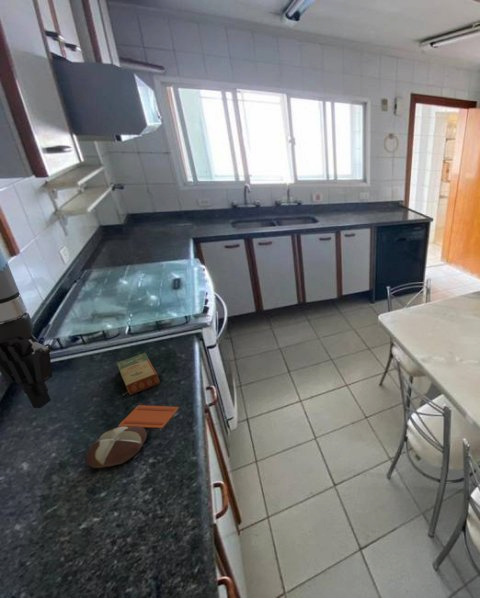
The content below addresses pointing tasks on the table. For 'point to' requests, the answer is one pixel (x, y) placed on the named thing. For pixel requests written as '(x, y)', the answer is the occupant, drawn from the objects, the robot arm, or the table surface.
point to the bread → (116, 446)
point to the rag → (149, 416)
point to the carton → (138, 373)
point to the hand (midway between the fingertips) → (42, 403)
